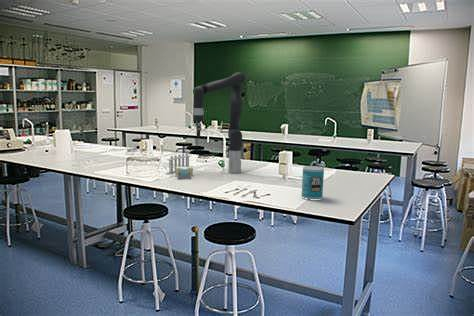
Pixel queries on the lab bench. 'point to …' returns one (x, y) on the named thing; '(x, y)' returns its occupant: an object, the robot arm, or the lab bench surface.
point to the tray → (184, 176)
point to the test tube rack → (178, 162)
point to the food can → (312, 182)
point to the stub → (184, 172)
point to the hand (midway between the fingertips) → (198, 136)
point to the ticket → (184, 167)
